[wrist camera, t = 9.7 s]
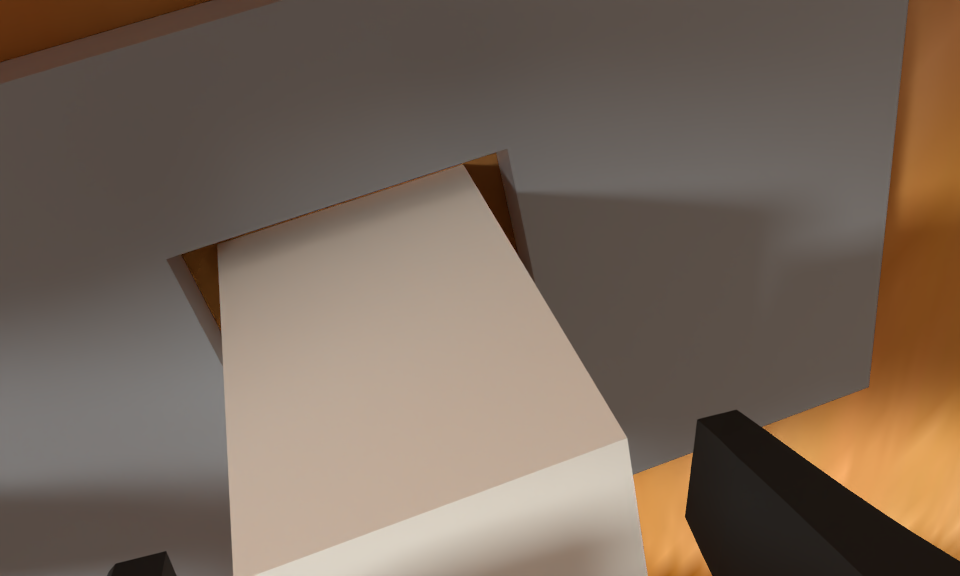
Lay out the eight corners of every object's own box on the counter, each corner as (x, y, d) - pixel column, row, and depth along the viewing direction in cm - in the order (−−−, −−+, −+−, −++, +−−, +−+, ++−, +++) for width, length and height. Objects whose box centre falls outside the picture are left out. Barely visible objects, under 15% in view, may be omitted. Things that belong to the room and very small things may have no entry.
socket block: (-129, 716, 18) (-271, 1165, 13) (-713, 272, 11) (-1655, 857, 5) (842, 360, 20) (1086, 604, 15) (884, -198, 13) (1386, -130, 8)
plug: (302, 422, 17) (356, 770, 11) (217, 244, 14) (233, 583, 9) (508, 349, 17) (658, 650, 12) (462, 164, 15) (627, 438, 9)
